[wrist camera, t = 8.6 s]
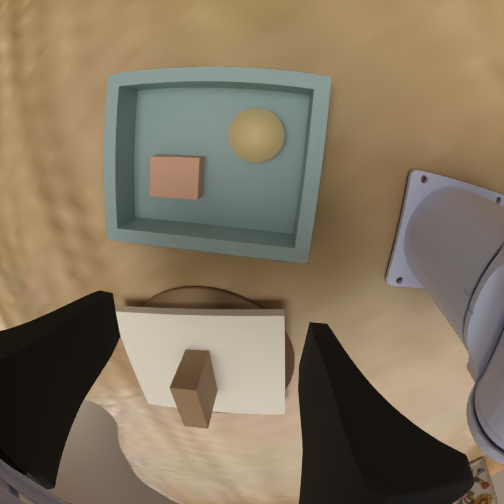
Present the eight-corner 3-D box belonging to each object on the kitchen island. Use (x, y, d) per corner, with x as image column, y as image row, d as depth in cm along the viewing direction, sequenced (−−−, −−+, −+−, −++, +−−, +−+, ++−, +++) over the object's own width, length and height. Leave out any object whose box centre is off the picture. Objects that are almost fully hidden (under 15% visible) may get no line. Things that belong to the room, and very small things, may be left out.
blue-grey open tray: (323, 85, 15) (331, 76, 12) (304, 244, 19) (307, 263, 16) (132, 80, 16) (108, 74, 13) (129, 224, 20) (107, 239, 17)
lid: (284, 302, 20) (283, 357, 15) (285, 400, 24) (283, 452, 19) (121, 300, 22) (85, 343, 17) (153, 391, 26) (134, 435, 21)
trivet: (309, 299, 21) (309, 302, 20) (280, 417, 26) (280, 420, 26) (121, 273, 21) (119, 276, 21) (143, 393, 27) (142, 396, 26)
